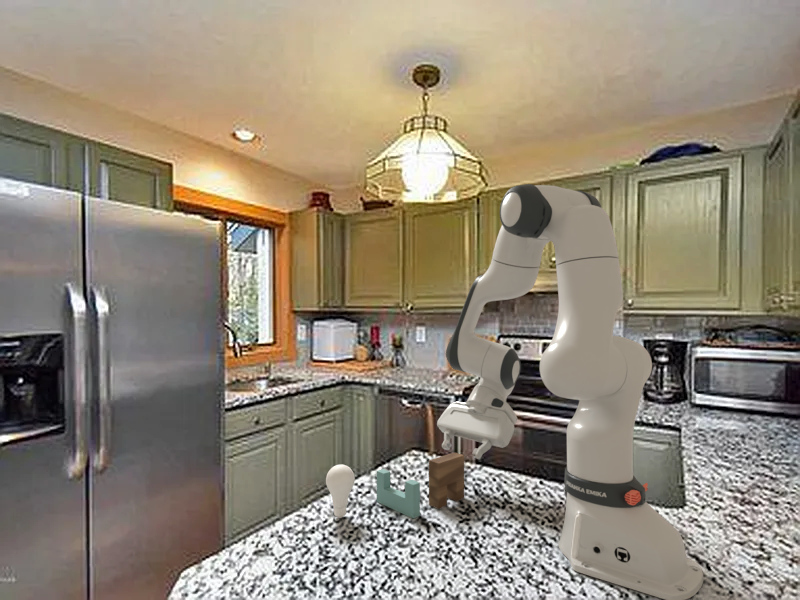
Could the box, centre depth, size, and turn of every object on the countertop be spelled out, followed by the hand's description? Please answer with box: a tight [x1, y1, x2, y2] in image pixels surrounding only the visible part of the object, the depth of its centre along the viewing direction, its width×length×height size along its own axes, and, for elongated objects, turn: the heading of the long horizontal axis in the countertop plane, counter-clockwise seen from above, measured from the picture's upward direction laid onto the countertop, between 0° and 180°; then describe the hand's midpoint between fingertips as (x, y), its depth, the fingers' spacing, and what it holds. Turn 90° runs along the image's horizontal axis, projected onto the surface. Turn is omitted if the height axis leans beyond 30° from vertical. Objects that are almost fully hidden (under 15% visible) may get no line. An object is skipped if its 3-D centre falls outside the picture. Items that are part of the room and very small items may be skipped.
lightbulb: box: [325, 464, 356, 519], centre depth 96 cm, size 6×6×11 cm
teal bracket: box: [376, 468, 421, 519], centre depth 101 cm, size 12×2×7 cm, turn 43°
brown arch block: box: [428, 452, 465, 510], centre depth 104 cm, size 3×9×10 cm, turn 133°
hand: (459, 452), depth 108 cm, fingers open, 8 cm apart
